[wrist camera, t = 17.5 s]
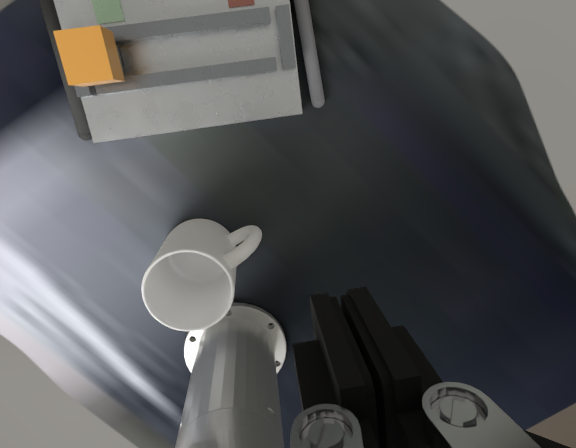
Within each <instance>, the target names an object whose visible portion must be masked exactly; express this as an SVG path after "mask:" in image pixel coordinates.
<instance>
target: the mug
mask: <svg viewBox="0 0 576 448" xmlns="http://www.w3.org/2000/svg"><path fill="white" fill-rule="evenodd" d="M261 239H262V232H261V229H260V228H259V227H257V226H255V225H249V226H245V227H242V228H240V229H238V230H236V231H234V232H232V233H229V231H228V230H227V229H226V228H224V227H223V226H222V225H220V224H219V223H217V222H214V221H212V220H208V219H192V220H188V221H185V222H183V223H181V224H179V225H178V226H176V227H175V228H174V229H173V230H172V231H171V232H170V234H169V235H168V236H167V238H166V239H165V241H164V243H163V244H162V246H161V248H160V249H159V251H158V252H157V254H156V256H155V257H154V259H153V261H152V262H151V264H150V266H149V267H148V269H147V270H146V272H145V275H144V277H143V281H142V297H143V301H144V304H145V306H146V308H147V309H148V311H149V312H150V314H151V315H152V316H153V317H154V318H155V319H156V320H157V321H159V322H160V323H162V324H163V325H165V326H167V327H169V328H172V329H175V330H179V331H198V330H203V329H206V328H209V327H211V326H213V325H214V324H216V323H218V322H219V321H220V320H221V319H222V318H223V317H224V316H225V315H226V314H227V312H228V311H229V309H230V307H231V305H232V303H233V299H234V291H235V279H236V266H238V265H239V264H240V263H242V262H243V261H244V260H246V259H247V258H248V257H249V256H250V255H251V254H252V253H253V252H254V251H255V249H256V248H257V247H258V245H259V243H260V241H261ZM242 241H243V242H242ZM240 242H242V243H241V244H240V245H239V246H237V247H236V245H237V244H239V243H240Z"/></svg>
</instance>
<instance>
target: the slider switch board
mask: <svg viewBox="0 0 576 448" xmlns="http://www.w3.org/2000/svg"><path fill="white" fill-rule="evenodd" d="M53 1H54V4H55V8H56V11H57V15H58V18H59V22H60V25H61V29H62V30H65V29H73V28H81V27H89V26H97V25H101V26H103V27H105V28H107V29H108V30H110V31H112V32H113V35H114V39H115V43H116V46H117V47H119V51H120V55H121V59H122V63H123V67H124V72H125V75H123V76H124V80H125V81H122V82H115V83H107V84H100V85H92V86H85V87H82V86H74V87H75V90H76V94H77V97H81V100H82V104H83V107H84V111H85V114H86V118H87V122H88V125H89V129H90V132H91V136H92V139H93V143H98V142H105V141H112V140H119V139H126V138H133V137H140V136H148V135H155V134H162V133H169V132H176V131H183V130H190V129H198V128H205V127H212V126H219V125H226V124H233V123H240V122H248V121H255V120H262V119H269V118H276V117H283V116H290V115H297V114H303V113H302V104H301V95H300V87H299V78H298V69H297V60H296V52H295V43H294V34H293V26H292V17H291V8H290V0H53Z"/></svg>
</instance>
